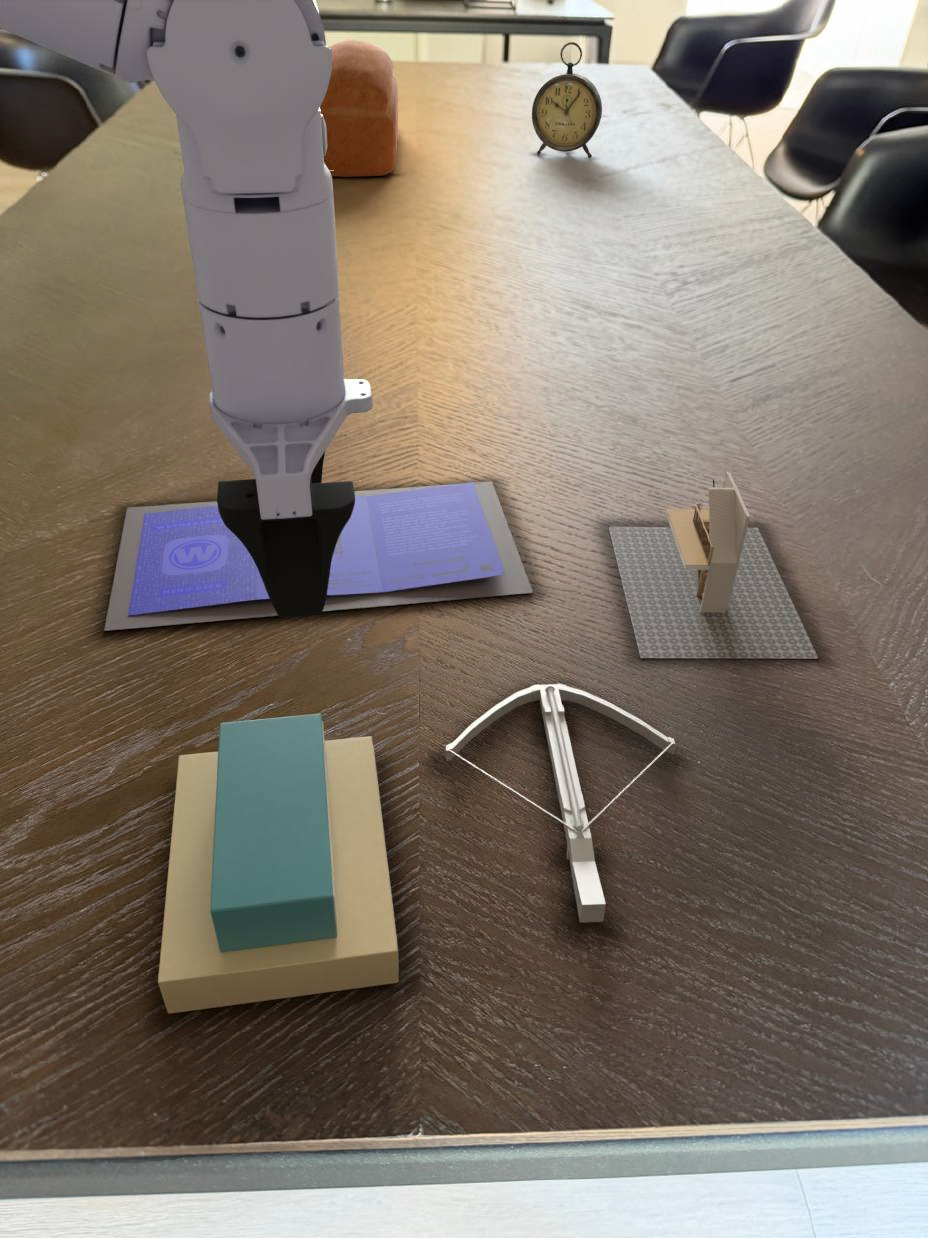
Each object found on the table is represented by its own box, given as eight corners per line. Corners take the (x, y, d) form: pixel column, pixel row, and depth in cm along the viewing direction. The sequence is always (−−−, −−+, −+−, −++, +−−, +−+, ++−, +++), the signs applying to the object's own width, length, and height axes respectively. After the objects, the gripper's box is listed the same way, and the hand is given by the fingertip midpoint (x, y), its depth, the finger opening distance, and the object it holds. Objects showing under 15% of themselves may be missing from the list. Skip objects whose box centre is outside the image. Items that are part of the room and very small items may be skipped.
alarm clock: (528, 156, 159) (535, 42, 149) (534, 148, 163) (540, 37, 153) (595, 161, 157) (606, 46, 147) (599, 153, 161) (610, 41, 151)
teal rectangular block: (219, 953, 41) (209, 911, 39) (227, 764, 50) (219, 722, 48) (338, 938, 42) (334, 896, 40) (326, 754, 50) (322, 712, 49)
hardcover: (167, 1014, 42) (157, 982, 40) (186, 787, 52) (178, 755, 50) (399, 983, 43) (398, 951, 42) (374, 767, 53) (372, 735, 52)
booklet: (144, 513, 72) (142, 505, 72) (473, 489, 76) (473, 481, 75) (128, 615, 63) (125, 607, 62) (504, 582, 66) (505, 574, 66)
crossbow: (441, 707, 58) (441, 680, 57) (649, 701, 59) (654, 674, 58) (456, 930, 45) (456, 901, 44) (723, 919, 46) (731, 890, 44)
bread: (305, 177, 146) (296, 60, 137) (321, 128, 172) (314, 26, 162) (396, 178, 147) (394, 61, 137) (399, 129, 172) (397, 27, 163)
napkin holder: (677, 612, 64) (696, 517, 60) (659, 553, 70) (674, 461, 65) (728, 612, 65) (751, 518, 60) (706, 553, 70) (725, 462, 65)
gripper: (383, 361, 35) (393, 650, 43) (354, 235, 46) (366, 484, 54) (180, 371, 34) (231, 665, 42) (201, 239, 45) (238, 492, 53)
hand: (298, 564), depth 48 cm, fingers open, 7 cm apart
